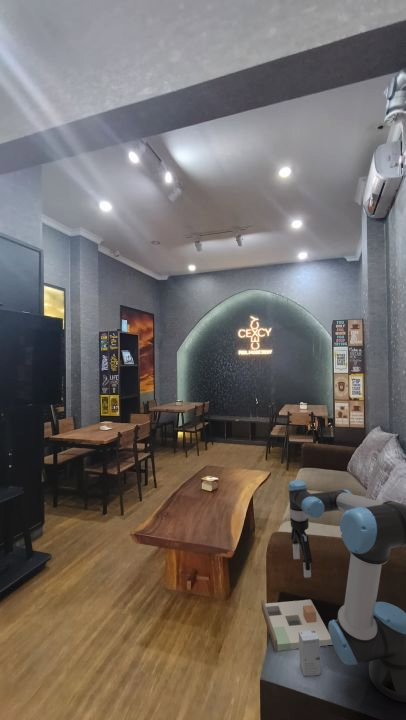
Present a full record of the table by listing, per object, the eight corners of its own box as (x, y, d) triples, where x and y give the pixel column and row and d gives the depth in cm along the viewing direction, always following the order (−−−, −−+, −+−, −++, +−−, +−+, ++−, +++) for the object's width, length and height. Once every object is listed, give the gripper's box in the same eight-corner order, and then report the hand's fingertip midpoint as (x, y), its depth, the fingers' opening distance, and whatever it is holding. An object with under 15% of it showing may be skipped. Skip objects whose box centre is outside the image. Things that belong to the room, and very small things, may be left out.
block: (316, 621, 139) (316, 611, 139) (306, 622, 138) (306, 612, 138) (312, 614, 143) (312, 605, 143) (303, 615, 142) (302, 605, 142)
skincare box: (304, 677, 117) (302, 641, 118) (299, 665, 122) (297, 631, 122) (321, 674, 118) (319, 639, 118) (316, 663, 122) (314, 629, 123)
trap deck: (332, 645, 130) (332, 635, 130) (275, 651, 128) (274, 640, 128) (310, 605, 152) (310, 596, 152) (261, 609, 150) (261, 600, 150)
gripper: (318, 530, 137) (321, 584, 136) (298, 505, 162) (300, 551, 161) (300, 532, 137) (303, 586, 136) (282, 506, 161) (284, 552, 161)
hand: (301, 567), depth 149 cm, fingers open, 13 cm apart
